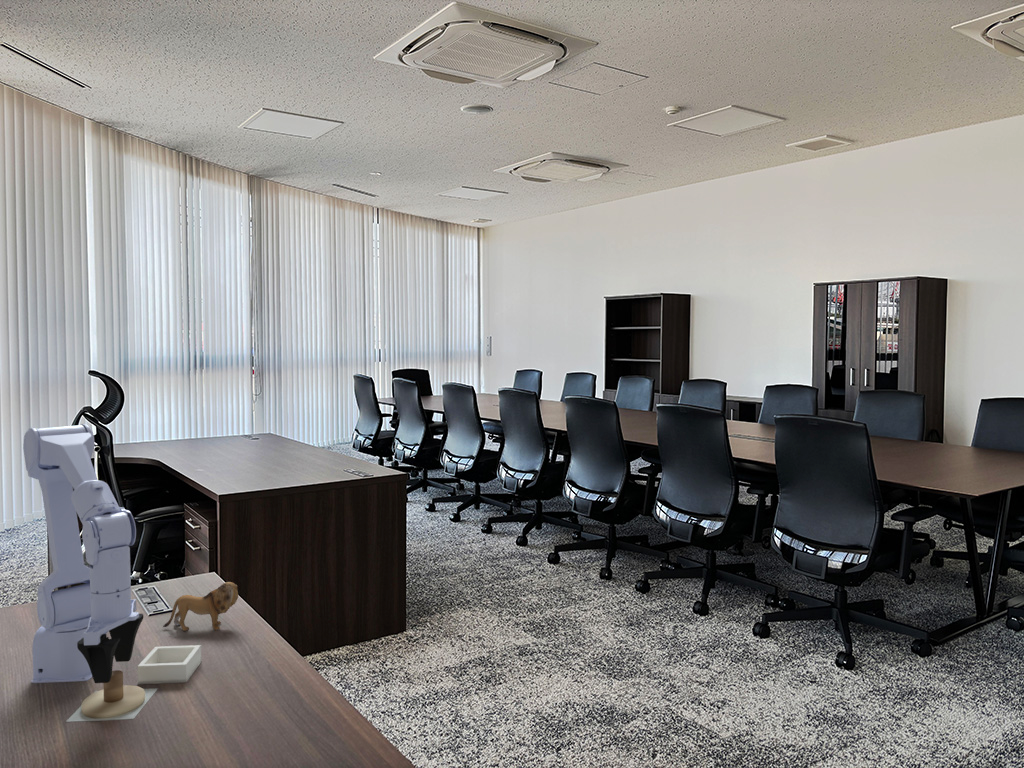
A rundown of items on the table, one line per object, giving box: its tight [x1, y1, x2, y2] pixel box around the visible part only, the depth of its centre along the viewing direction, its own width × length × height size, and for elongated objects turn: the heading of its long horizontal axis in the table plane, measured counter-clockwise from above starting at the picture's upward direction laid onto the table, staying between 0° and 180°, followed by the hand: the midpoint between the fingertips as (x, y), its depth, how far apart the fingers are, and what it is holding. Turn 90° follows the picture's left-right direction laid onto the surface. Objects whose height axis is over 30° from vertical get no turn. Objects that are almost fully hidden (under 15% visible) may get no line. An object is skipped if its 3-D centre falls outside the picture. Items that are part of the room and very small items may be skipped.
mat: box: [65, 688, 159, 723], centre depth 119 cm, size 10×10×1 cm
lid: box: [81, 669, 145, 719], centre depth 119 cm, size 9×9×5 cm
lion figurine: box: [162, 581, 239, 632], centre depth 151 cm, size 15×5×9 cm, turn 103°
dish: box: [137, 644, 202, 685], centre depth 130 cm, size 8×8×4 cm
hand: (113, 671), depth 118 cm, fingers open, 7 cm apart
